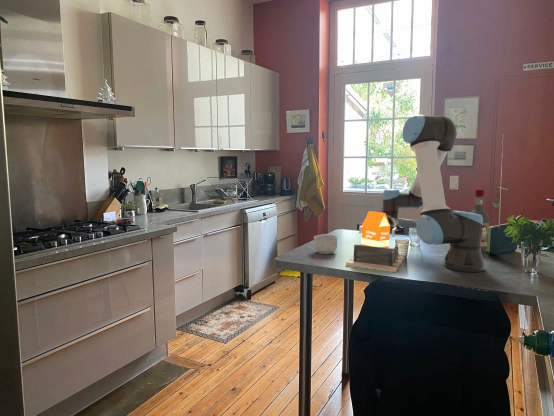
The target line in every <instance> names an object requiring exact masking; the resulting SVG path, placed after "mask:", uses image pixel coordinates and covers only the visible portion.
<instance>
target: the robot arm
mask: <svg viewBox="0 0 554 416" xmlns="http://www.w3.org/2000/svg"><path fill="white" fill-rule="evenodd" d="M402 127H403V128H402V139H403V141H404V142H405V144H409V147H410V150H411V151H412V152H414V155H415V161H416V167H417V169H416V170H417V174H416V176H415V179H414V180H413V183H412V184H411V186H410V189H409V191H408V192H400V190H399V189H398V188H385V189H384V190H383V193H382V211H381V213H385V214H386V217H387V219H388V222H389V225H390V233H391V237H393V238H394V237H395V236H396V235H399V234H401V235H404V234H405V227H402V226H401V225H400V224H399V223H400V218H399V209H421V208H422V209H421V211H420V212H419V213H420V216H419V217H418V218H417V220H416V223H415V229H416V233H417V236H418V237H419V239H420V240H421V241H422V242H423V243H424V244H426V245H445V244H446V245H447V244H448V245H449V248H448V250H447V253H446V255H445V257H444V259H443V265H444V267H445V268H448V269H451V270H455V271H457V272H458V271H459V272H466V273H478V272H479V273H480V272H483V271H484V270H485V263H484V258H483V255H482V252H481V240H482V229H483V217H482V216H481V215H480V214H475V213H470V212H468V211H462V210H451V208H450V207H449V206H447V204H446V197H445V192H444V185H443V178H442V174H441V173H442V172H441V166H442V164H443V161H444V160H445V159H446V156H447V154H448V153H450V152H452V150H453V148H454V146H455V144H456V141H457V135H458V134H457V127H456V124H455V122H454V121H453V120H452V119H450V118H449V117H447V116H445V115H430V114H429V115H427V114H414V115H411V116H410V117H408V119H406V121H405V123H404V126H402ZM362 224H363V222H362V223H357V224H356V230H357V231H358V234H361V235H362Z"/></svg>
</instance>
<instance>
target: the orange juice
mask: <svg viewBox="0 0 554 416" xmlns="http://www.w3.org/2000/svg"><path fill="white" fill-rule="evenodd" d="M362 223H363V224H362V233H361V241H360V245H365V246H374V247H383V248H390V234H391V232H390V225H389V222H388V219H387V217H386V214H385V213H382V212H378V211H371V210H369V211H368V212H367V215H366V217H365V219H364V220H363V222H362Z"/></svg>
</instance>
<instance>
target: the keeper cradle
mask: <svg viewBox="0 0 554 416" xmlns="http://www.w3.org/2000/svg"><path fill="white" fill-rule="evenodd" d="M404 261H405V256H404V255H403V256H402V255H399V246H396V245H395V246H394V247H393V248H391V247H389V248H383V247H374V246H365V245H361V244H354V245H353V255H352V256H351V258H350V259H348V260H347V261H346V264H345V266H347V267H353V268H360V269H366V268H368V269H367V270H374V269H376V270H375V271H381V270H382V272H391V273H396V272H398V270H399V268H400V267H401V265H402V264H403V262H404Z"/></svg>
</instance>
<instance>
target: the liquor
mask: <svg viewBox="0 0 554 416" xmlns="http://www.w3.org/2000/svg"><path fill="white" fill-rule="evenodd" d="M484 195H485V189H479V188H476V189H475V195H474V196H475V199H474V201H475V202H474V207H473V209H472V210H471V211H470V212H469V213H475V214H480V215H481V216H482V217H483V229H482V240H481V253H486V252H487V251H486V249H487V250H488V244H487V234H488V235H489V232H488V228H489V229H490V221H491V220H490V219H491V218H490V216H489V214H487V212H486V211H485V210H484Z"/></svg>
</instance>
